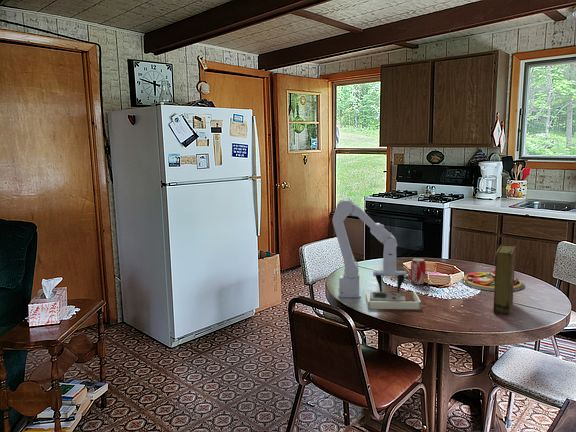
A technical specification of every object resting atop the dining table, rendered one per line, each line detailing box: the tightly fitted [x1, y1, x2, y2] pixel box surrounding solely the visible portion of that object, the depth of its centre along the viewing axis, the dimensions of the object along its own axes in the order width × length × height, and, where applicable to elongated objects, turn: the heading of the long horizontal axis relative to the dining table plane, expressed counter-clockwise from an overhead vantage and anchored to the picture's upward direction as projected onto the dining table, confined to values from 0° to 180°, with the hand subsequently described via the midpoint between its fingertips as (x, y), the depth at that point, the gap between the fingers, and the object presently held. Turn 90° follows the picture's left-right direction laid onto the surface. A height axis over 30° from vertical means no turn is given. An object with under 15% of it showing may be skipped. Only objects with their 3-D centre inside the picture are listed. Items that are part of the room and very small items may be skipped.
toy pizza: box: [460, 270, 525, 292], centre depth 212 cm, size 28×28×4 cm
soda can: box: [410, 257, 427, 286], centre depth 214 cm, size 7×7×12 cm
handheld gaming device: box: [369, 291, 406, 302], centre depth 190 cm, size 9×15×4 cm, turn 77°
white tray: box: [365, 291, 422, 310], centre depth 189 cm, size 22×13×3 cm, turn 84°
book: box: [492, 243, 517, 316], centre depth 178 cm, size 16×6×25 cm, turn 148°
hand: (389, 291), depth 198 cm, fingers open, 7 cm apart
